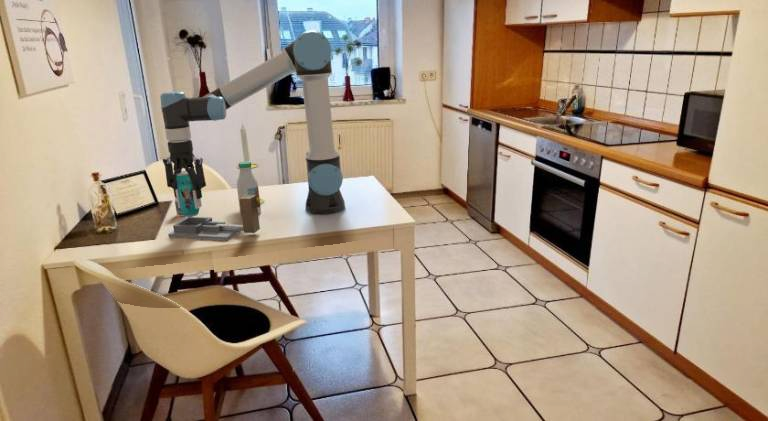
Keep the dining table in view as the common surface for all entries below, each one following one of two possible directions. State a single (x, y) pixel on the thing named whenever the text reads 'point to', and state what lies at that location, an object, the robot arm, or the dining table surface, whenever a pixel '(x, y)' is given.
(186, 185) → the beverage can
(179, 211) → the pill bottle
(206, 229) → the dock
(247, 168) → the milk bottle
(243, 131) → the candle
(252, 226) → the lock pin
